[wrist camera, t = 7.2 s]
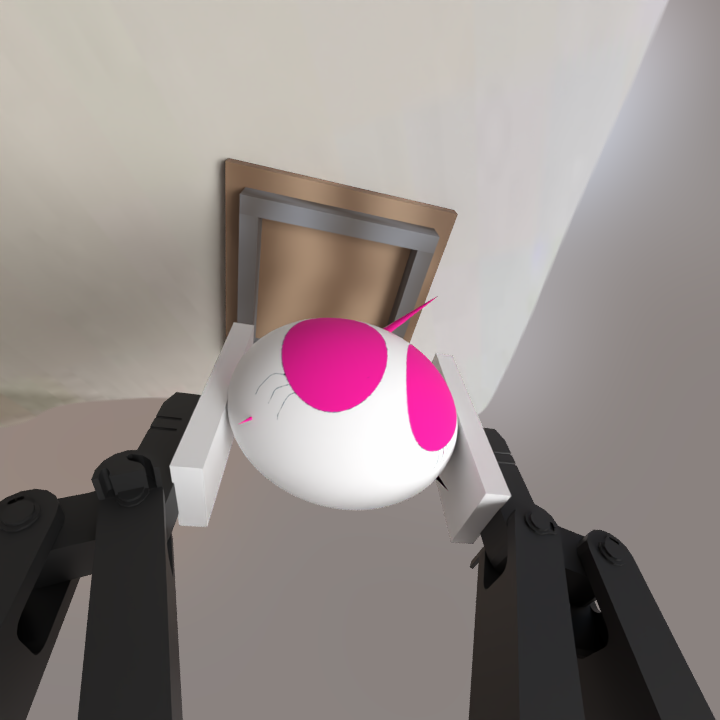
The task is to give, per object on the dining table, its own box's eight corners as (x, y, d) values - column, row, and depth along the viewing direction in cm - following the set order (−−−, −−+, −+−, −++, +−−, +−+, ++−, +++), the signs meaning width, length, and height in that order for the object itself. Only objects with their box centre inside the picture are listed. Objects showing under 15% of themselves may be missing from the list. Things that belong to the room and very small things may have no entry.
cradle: (228, 349, 34) (220, 368, 31) (229, 158, 24) (217, 166, 22) (394, 373, 36) (397, 392, 34) (454, 210, 27) (464, 222, 24)
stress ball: (497, 288, 14) (596, 417, 8) (385, 421, 18) (404, 564, 12) (312, 182, 11) (285, 270, 6) (232, 364, 15) (174, 513, 10)
